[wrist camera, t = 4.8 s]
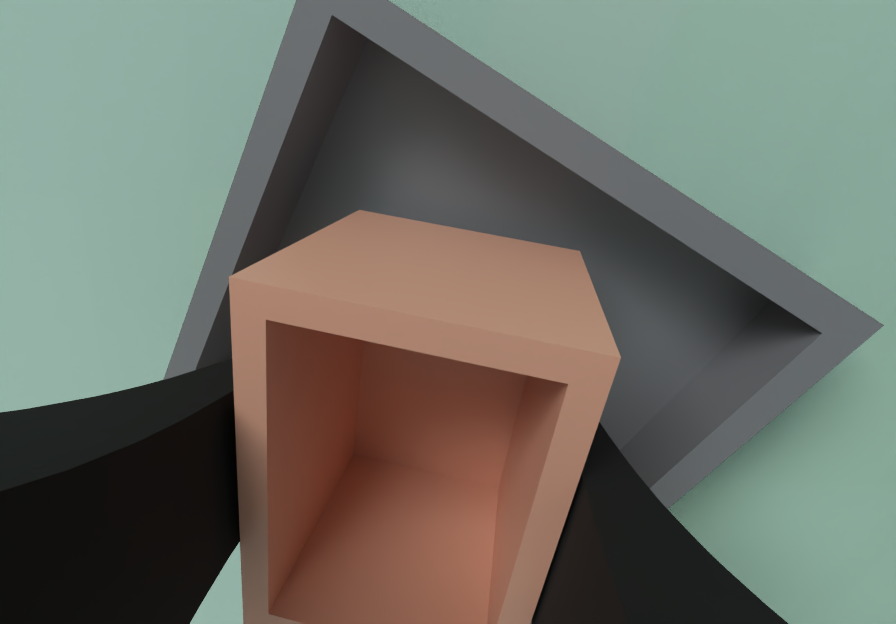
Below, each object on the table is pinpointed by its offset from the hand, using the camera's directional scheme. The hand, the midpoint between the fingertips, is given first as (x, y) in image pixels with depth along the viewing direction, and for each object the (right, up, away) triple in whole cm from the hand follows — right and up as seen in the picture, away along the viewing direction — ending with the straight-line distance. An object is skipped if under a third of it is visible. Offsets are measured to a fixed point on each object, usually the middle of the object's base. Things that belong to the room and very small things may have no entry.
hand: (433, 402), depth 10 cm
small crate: (0, +1, +1) cm, 2 cm away
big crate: (+1, +1, +3) cm, 3 cm away
